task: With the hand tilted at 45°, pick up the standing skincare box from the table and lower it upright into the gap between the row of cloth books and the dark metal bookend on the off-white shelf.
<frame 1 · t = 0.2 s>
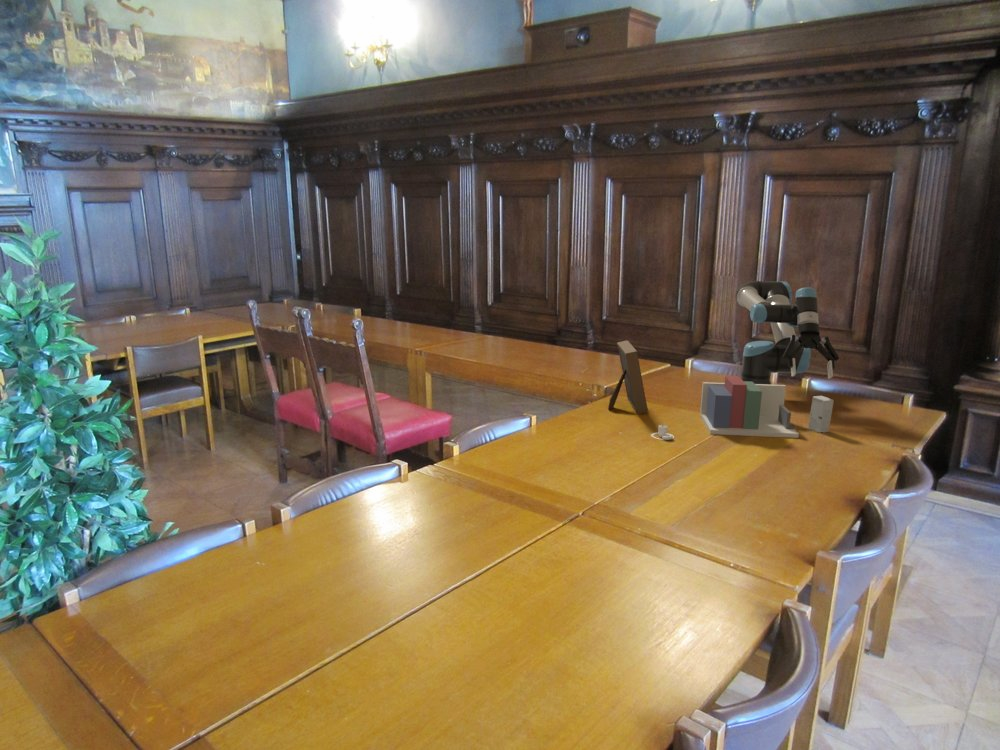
hand: (812, 376, 254), 16 cm above the table, tool tilted 35°, fingers open, 13 cm apart
photo frame: (624, 406, 271), on the table
skincare box: (818, 430, 242), on the table
book shelf: (747, 427, 245), on the table
coiled charger cable: (657, 440, 233), on the table
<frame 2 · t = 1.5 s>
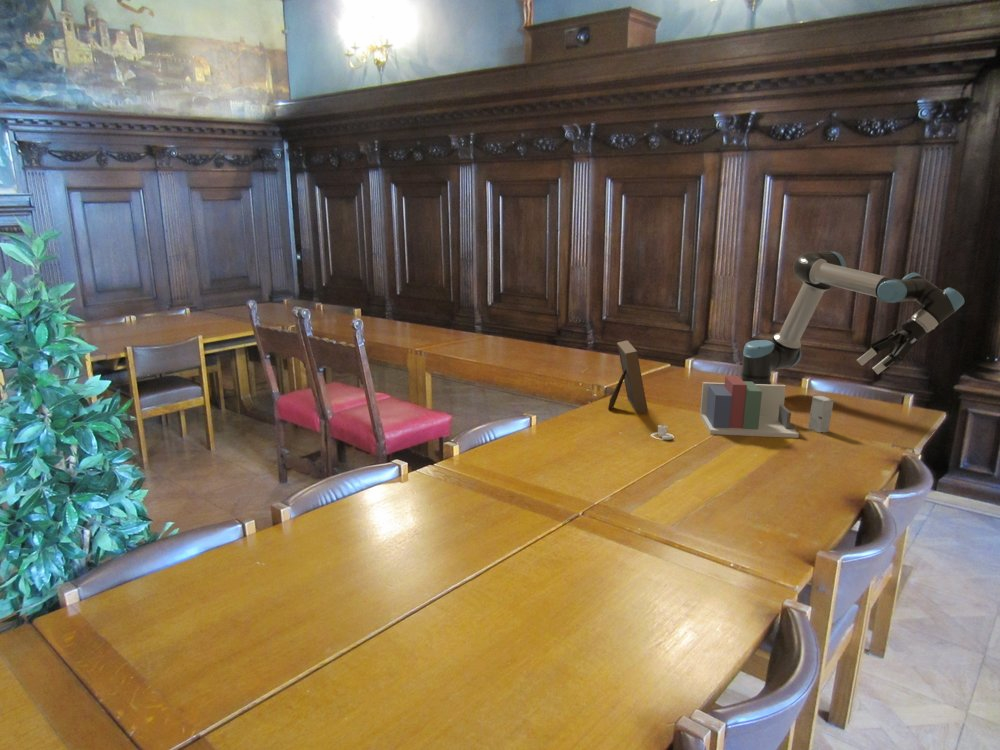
hand: (866, 367, 235), 24 cm above the table, tool tilted 45°, fingers open, 13 cm apart
nothing on the table moved.
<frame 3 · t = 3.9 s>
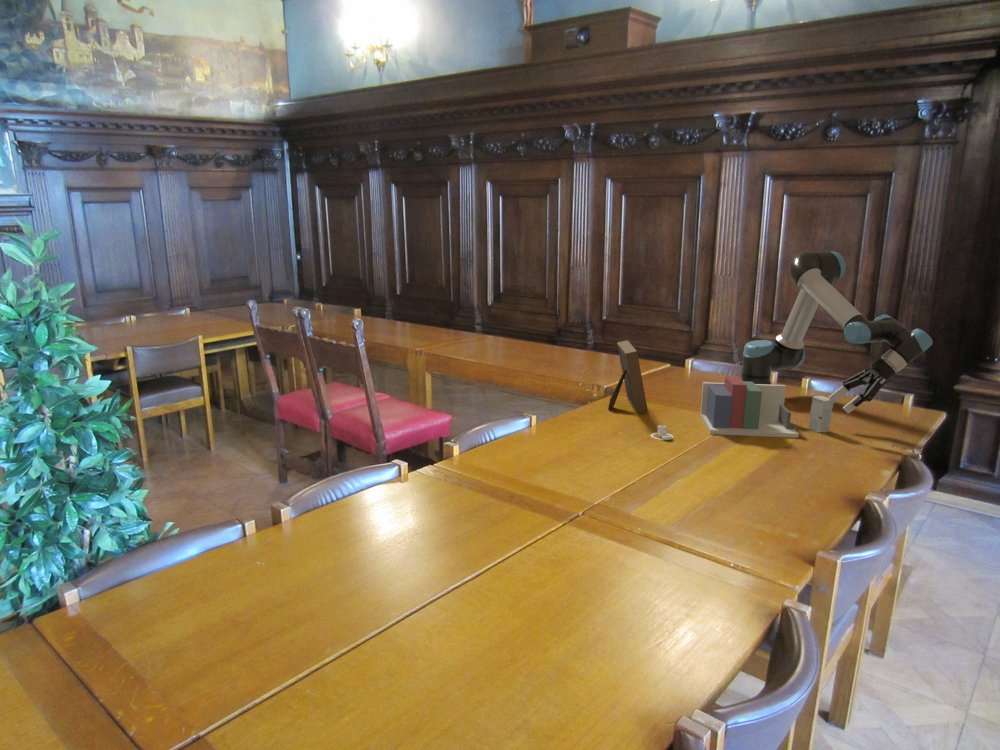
hand: (837, 405, 238), 10 cm above the table, tool tilted 45°, fingers open, 13 cm apart
nothing on the table moved.
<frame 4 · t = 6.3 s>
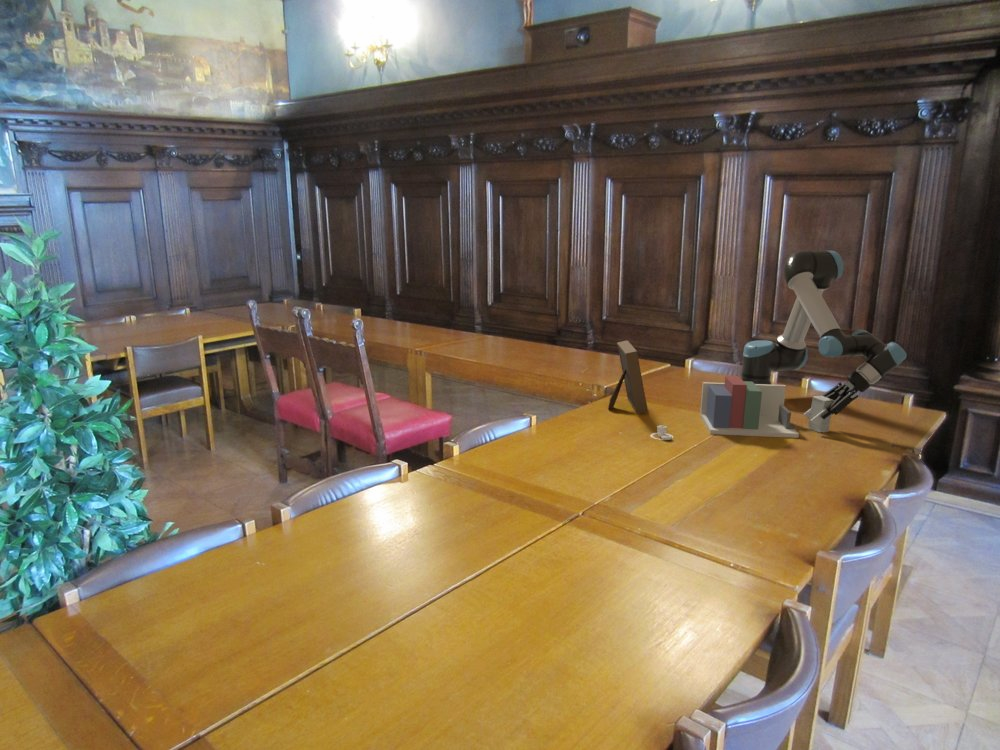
hand: (809, 419, 242), 4 cm above the table, tool tilted 45°, fingers closed on skincare box, 7 cm apart
skincare box: (818, 430, 242), on the table, touching gripper
everything else where it was.
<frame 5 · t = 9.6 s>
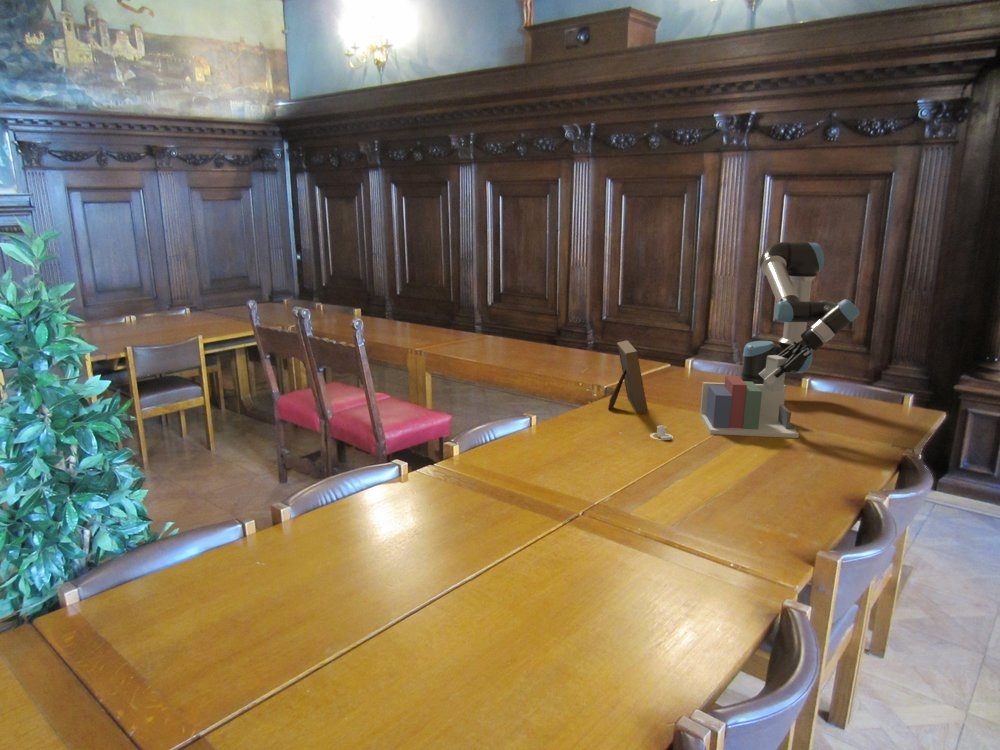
hand: (764, 379, 240), 18 cm above the table, tool tilted 45°, fingers closed on skincare box, 7 cm apart
skincare box: (773, 390, 241), point 14 cm above the table, touching gripper
everything else where it was.
when the fingers open (7 cm above the table, at t = 13.3 s): skincare box drops 1 cm, resting on book shelf.
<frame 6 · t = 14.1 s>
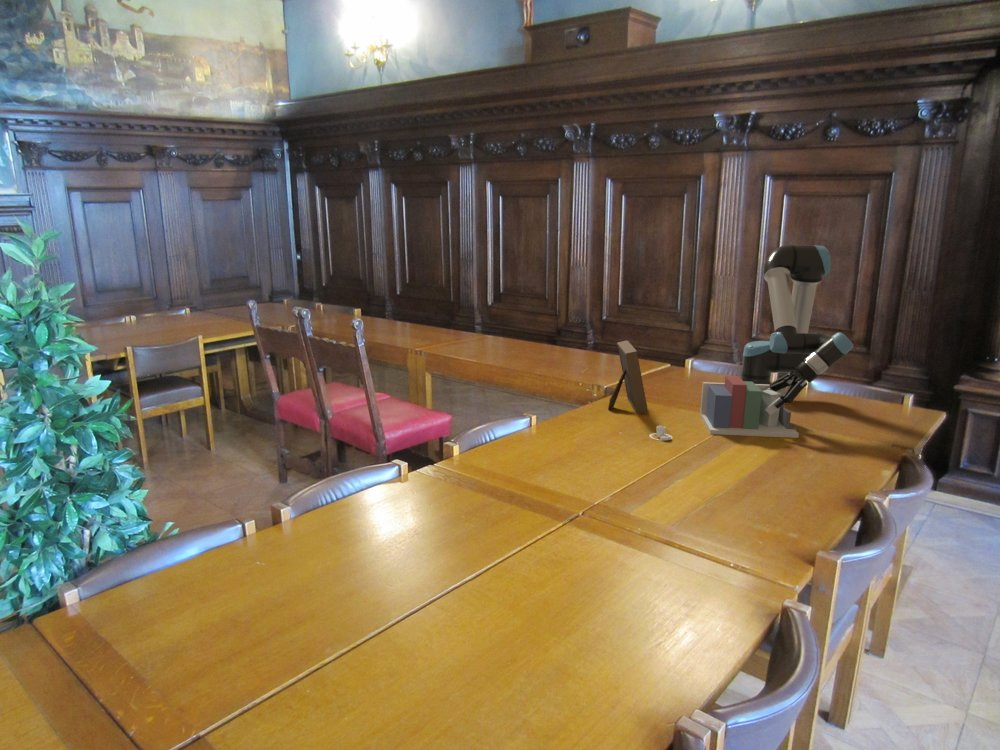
hand: (762, 407, 243), 8 cm above the table, tool tilted 45°, fingers open, 13 cm apart
skincare box: (767, 424, 244), point 1 cm above the table, touching book shelf
everything else where it was.
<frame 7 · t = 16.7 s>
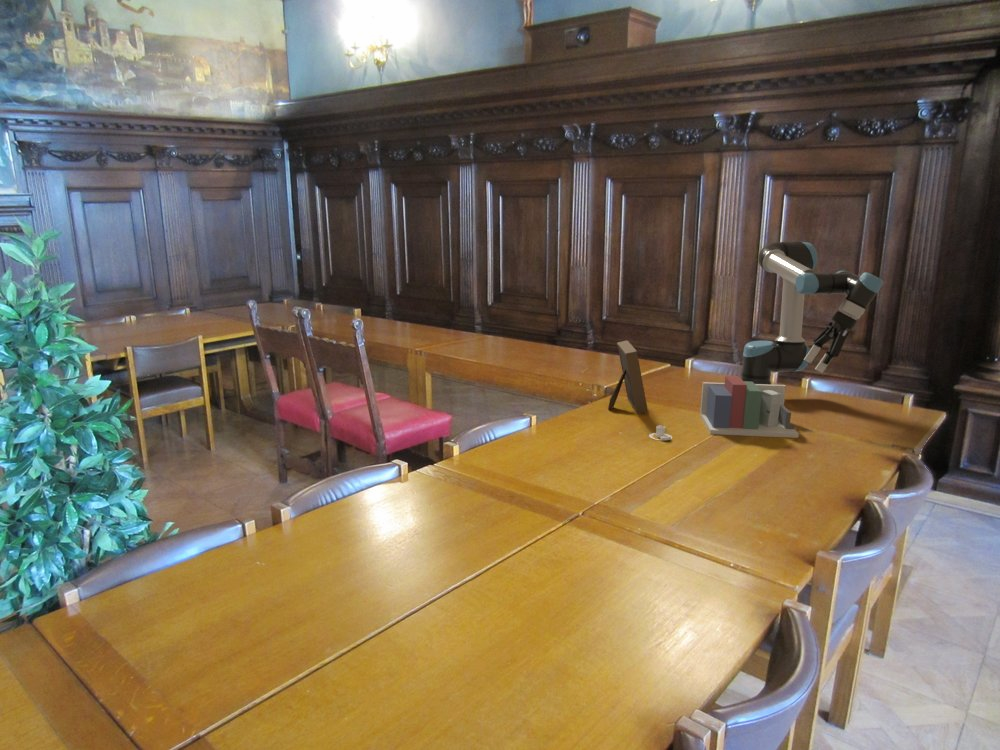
hand: (812, 366, 242), 22 cm above the table, tool tilted 25°, fingers open, 13 cm apart
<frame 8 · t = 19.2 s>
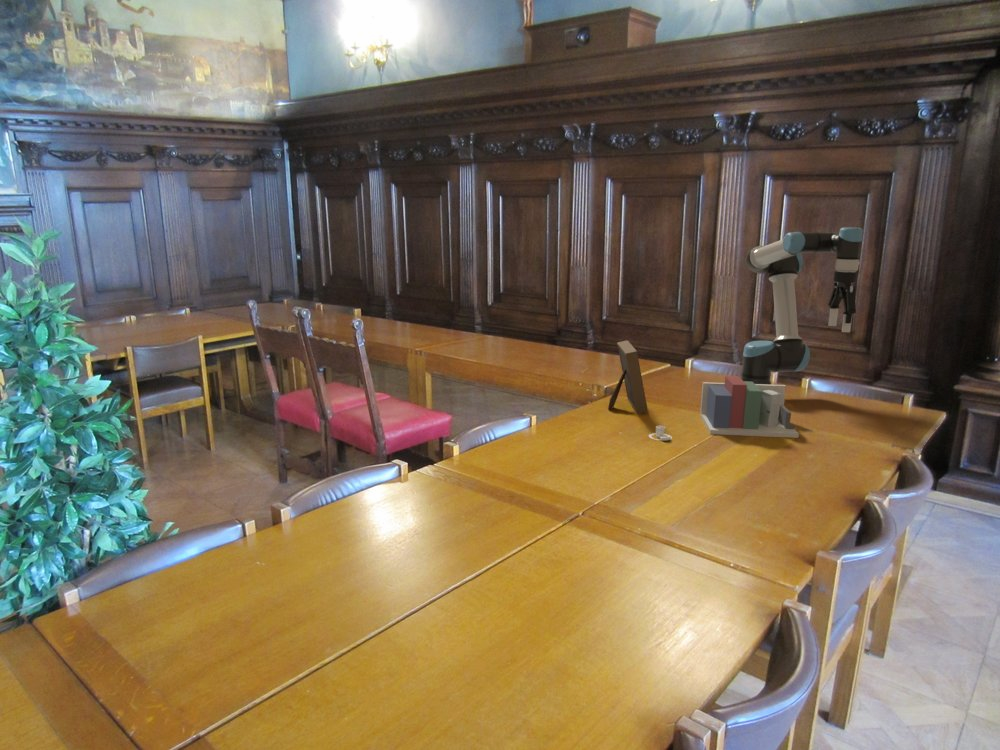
hand: (838, 328, 248), 35 cm above the table, tool pointing down, fingers open, 13 cm apart
at the end: skincare box inside the target area on the book shelf (0.2 cm from its centre), point 1.3 cm above the book shelf's base; skincare box tilted 0°; the gripper is holding nothing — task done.
